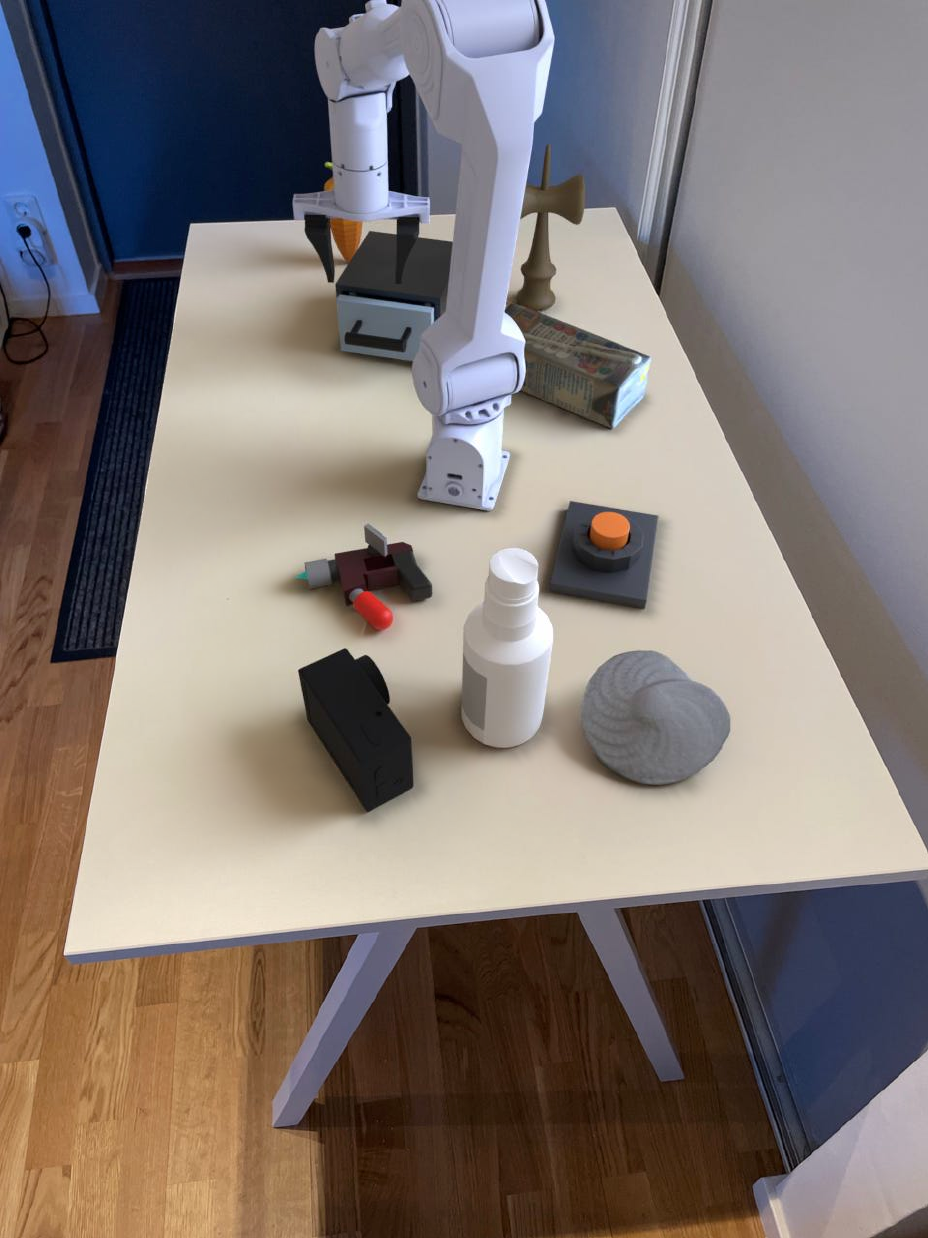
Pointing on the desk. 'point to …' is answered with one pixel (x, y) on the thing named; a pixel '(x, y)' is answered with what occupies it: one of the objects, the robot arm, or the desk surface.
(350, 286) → the drawer cabinet
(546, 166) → the kendama
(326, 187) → the carrot
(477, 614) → the white plastic bottle
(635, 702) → the seashell
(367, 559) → the toy gun
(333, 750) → the digital camera
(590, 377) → the beverage carton
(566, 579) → the panel
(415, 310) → the light blue drawer
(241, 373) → the desk surface
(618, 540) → the button
